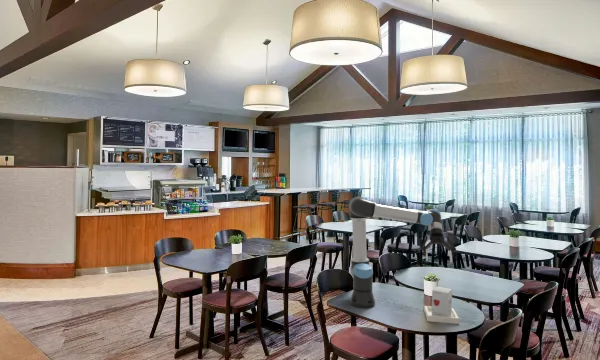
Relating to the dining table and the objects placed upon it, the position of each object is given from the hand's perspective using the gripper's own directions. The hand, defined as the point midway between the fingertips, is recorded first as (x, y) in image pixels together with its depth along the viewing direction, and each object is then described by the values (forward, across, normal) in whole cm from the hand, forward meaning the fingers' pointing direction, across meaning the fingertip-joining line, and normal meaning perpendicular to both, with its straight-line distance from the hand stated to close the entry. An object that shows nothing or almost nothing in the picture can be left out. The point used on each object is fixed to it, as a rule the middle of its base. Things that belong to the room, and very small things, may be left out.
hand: (439, 260), depth 230 cm
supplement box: (+28, 0, -12) cm, 31 cm away
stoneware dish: (+28, 0, -13) cm, 31 cm away
